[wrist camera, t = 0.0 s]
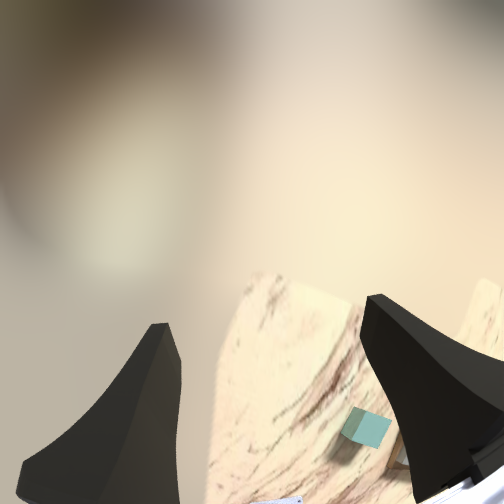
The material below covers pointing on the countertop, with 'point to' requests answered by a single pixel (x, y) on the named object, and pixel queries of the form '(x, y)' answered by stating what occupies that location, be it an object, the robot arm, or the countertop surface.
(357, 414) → the teal block
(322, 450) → the countertop surface
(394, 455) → the walnut slab
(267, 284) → the countertop surface
